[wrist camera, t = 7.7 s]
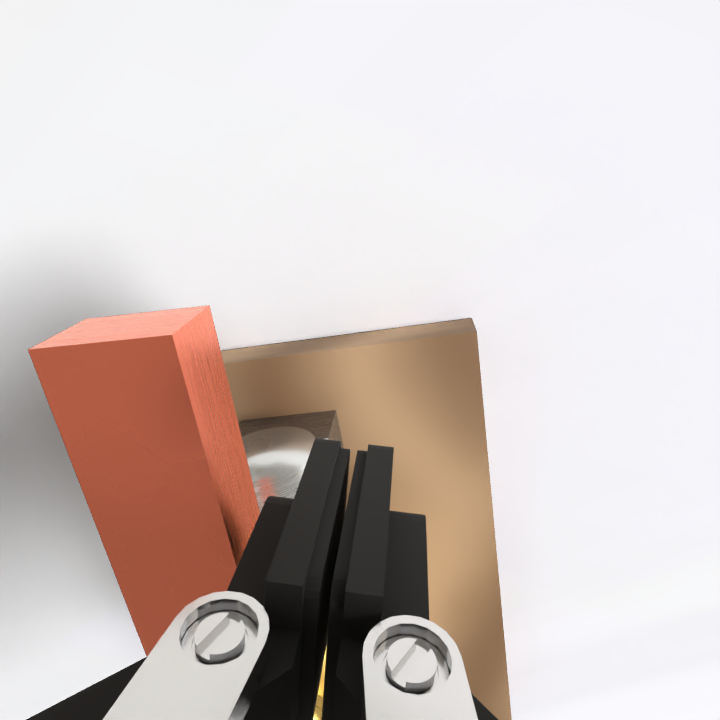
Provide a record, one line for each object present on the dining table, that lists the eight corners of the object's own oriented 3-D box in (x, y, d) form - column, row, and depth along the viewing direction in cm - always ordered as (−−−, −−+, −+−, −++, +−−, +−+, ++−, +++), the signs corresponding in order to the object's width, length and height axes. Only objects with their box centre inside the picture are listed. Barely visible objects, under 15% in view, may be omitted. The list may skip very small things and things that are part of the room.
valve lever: (342, 823, 15) (332, 936, 13) (248, 821, 15) (222, 930, 13) (219, 303, 9) (164, 349, 7) (76, 320, 10) (-18, 367, 8)
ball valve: (305, 709, 25) (264, 935, 18) (218, 415, 19) (106, 573, 12) (413, 706, 24) (415, 940, 17) (356, 400, 19) (323, 558, 11)
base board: (238, 709, 28) (229, 738, 26) (113, 365, 21) (91, 380, 19) (507, 701, 26) (512, 732, 24) (471, 318, 19) (476, 331, 17)
